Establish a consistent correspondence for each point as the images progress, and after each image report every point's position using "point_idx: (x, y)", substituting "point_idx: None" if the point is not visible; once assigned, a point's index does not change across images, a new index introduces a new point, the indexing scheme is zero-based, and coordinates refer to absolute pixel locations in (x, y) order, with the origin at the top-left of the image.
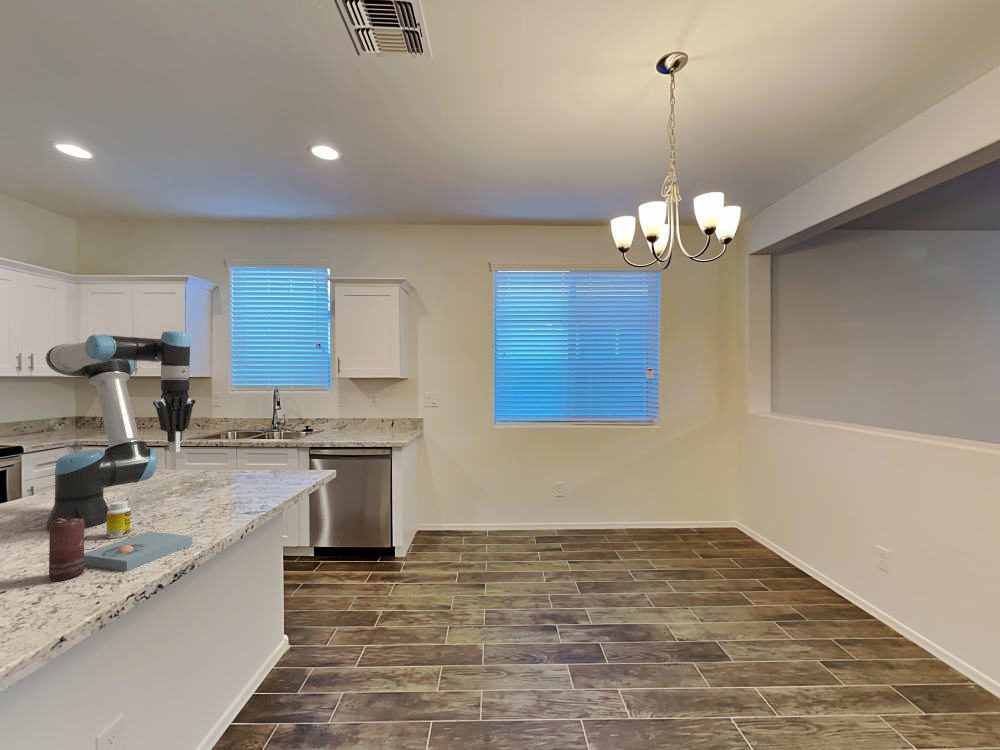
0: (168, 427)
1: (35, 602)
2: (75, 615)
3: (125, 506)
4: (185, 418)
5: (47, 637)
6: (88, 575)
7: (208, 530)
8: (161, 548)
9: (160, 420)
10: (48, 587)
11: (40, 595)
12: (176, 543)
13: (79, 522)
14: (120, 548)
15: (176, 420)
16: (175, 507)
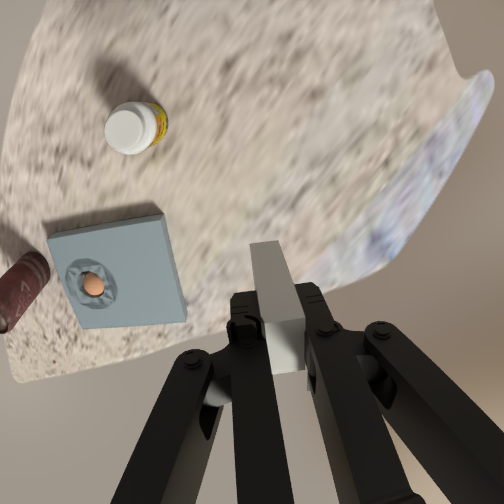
0: (205, 414)
1: None
2: (39, 365)
3: (134, 146)
4: (402, 426)
5: (26, 376)
6: (54, 289)
7: None
8: (129, 326)
9: (149, 443)
10: None
11: None
12: (155, 323)
13: (8, 331)
14: (84, 286)
15: (326, 421)
16: (356, 25)
